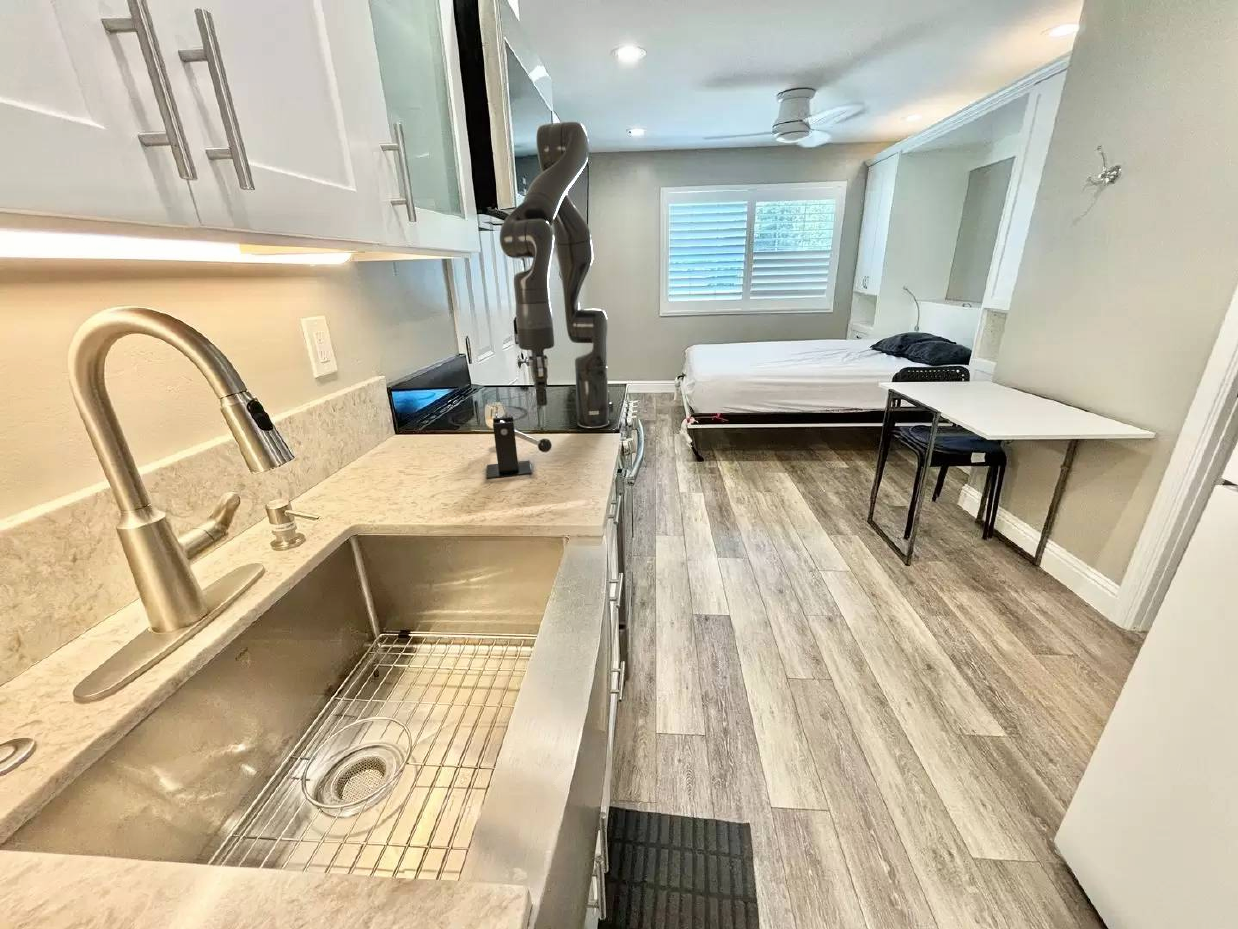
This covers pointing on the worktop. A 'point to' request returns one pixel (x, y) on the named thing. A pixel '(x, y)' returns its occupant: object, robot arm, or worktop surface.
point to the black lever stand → (506, 452)
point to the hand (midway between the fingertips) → (542, 404)
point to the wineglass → (494, 412)
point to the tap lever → (534, 441)
